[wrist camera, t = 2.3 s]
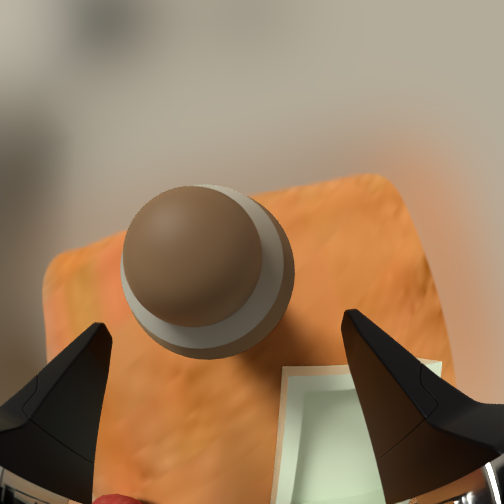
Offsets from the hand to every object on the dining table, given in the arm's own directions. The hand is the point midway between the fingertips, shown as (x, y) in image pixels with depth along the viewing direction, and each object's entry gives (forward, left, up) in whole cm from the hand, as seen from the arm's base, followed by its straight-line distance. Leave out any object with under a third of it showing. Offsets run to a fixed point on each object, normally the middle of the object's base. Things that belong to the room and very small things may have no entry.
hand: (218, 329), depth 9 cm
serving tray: (-9, -9, -9) cm, 16 cm away
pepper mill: (+2, 0, -9) cm, 10 cm away
